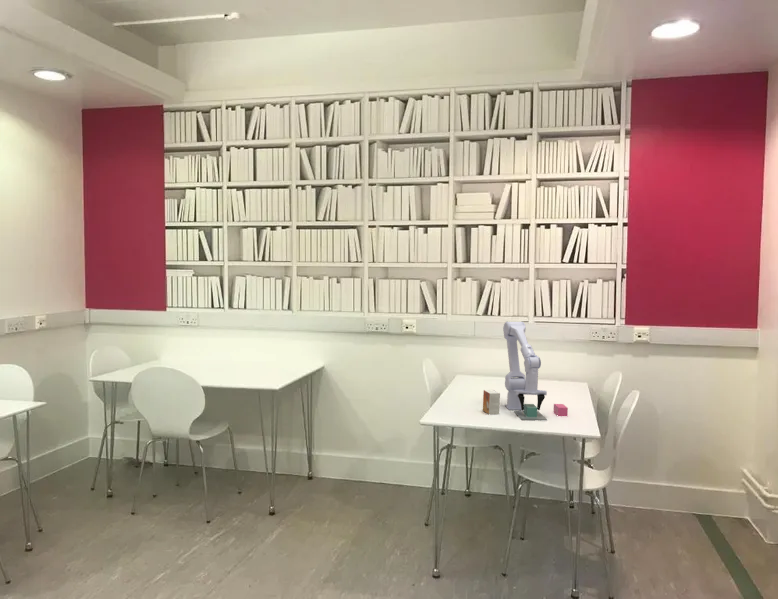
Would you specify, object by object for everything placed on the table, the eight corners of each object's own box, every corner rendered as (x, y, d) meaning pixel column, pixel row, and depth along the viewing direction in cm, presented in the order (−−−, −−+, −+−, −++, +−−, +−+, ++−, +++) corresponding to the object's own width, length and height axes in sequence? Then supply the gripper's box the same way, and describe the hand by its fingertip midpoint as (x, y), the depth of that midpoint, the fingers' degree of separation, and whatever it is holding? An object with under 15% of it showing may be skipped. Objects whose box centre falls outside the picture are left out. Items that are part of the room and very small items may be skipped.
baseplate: (514, 412, 310) (514, 410, 310) (538, 412, 310) (538, 411, 310) (521, 420, 294) (521, 418, 294) (547, 420, 294) (547, 419, 294)
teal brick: (523, 412, 306) (524, 403, 305) (533, 413, 306) (533, 404, 305) (527, 416, 298) (527, 407, 297) (537, 417, 298) (537, 407, 297)
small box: (482, 410, 311) (483, 389, 310) (493, 410, 312) (493, 389, 311) (488, 414, 303) (489, 393, 302) (499, 414, 304) (500, 392, 304)
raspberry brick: (553, 412, 311) (553, 403, 311) (562, 413, 311) (563, 404, 311) (557, 416, 303) (558, 407, 303) (567, 417, 303) (567, 407, 303)
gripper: (518, 382, 297) (517, 411, 297) (548, 383, 297) (547, 411, 298) (515, 380, 304) (514, 407, 304) (545, 380, 304) (543, 408, 305)
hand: (530, 409), depth 302 cm, fingers open, 7 cm apart
